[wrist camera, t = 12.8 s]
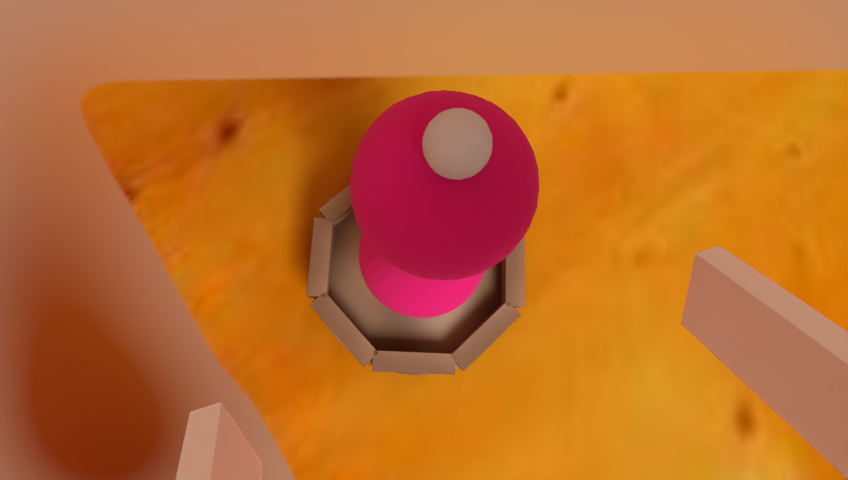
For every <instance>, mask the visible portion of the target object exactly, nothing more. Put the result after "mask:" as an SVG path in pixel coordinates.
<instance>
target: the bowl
mask: <svg viewBox="0 0 848 480" xmlns="http://www.w3.org/2000/svg"><path fill="white" fill-rule="evenodd" d="M319 211H320V213H321V214H322V216H323V217H324V218H317V217H314V225H313V235H312V245H311V255H310V266H309V276H308V286H307V296H308V297H310V298H315V300H314V301H313V302H312V303H311V304H310V306H311V307H312V308H313V309H314V311H315V312H316V313H317V314H318V315H319V316H320V317H321V319H322V320H323V321H324V322H325V323H326V325H327V327H328V328H329V329H330V331H331V332H332V333H333V335H334V336H335V337H336V338H337V339H338V340H339V341H340V342H341V343H342V344H343V345H344V346H345V348H347V349H348V350H349V351H350V352H351V353H352V354H353V356H354V357H355V358H356V359H357V360H358V361H359V362H360V364H361V365H362V366H363V367H364V366H365V365H366V364H367V363H369V364H371V365H372V371H381V372H395V373H401V374H410V375H422V374H455V368H456V367H459V368H460V369H461V370H463V371H464V370H465V369H466V368H467V367H468V366H469V365H470V364H471V363H472V362H473V361H474V360H475V359H476V358H477V357H478V356H479V355H480V354H482V353H483V352H484V351H485V350H486V349H487V348H488V347H489V346H490V345H491V344H492V343H493V342H494V341H495V340H496V339H497V338H498V337H499V336H500V335H501V334H502V333H503V332H504V331H505V330H506V329H507V328H508V327H509V326H510V325H511V324H512V323H513V322H514V321H515V320H516V319H517V318H518V317H519V316H520V315H521V314H520V313H519V312H518V311H517V310H516V309H515V307H517V308H520V307H524V306H525V292H524V237H523V238H522V240H521V241H520V242H519V244H518V245H517V246H516V248H515V249H514V250H513V251H512V252H511V253H510V254H509V255H508V256H507V257H506V258H505V259H504V260H502V261H501V262H499V263H498V264H496V265H494V266H493V267H491V268H489V269H488V270H486V271H484V274H483V276H482V279H481V281H480V283H479V285H478V286H477V288H476V290H475V291H474V292H473V294H472V295H471V296H470V297H469V298H468V299H467V300H466V301H465V302H464V303H463V304H462V305H460V306H459V307H458V308H456V309H454V310H452V311H451V312H449V313H446V314H443V315H440V316H436V317H431V318H415V317H408V316H405V315H402V314H399V313H396V312H394V311H393V310H391V309H389V308H387V307H386V306H385V305H383V304H382V303H381V302H380V301H379V300H378V299H377V298H376V297H375V296H374V295H373V294H372V293H371V291H370V290H369V289H368V287H367V285H366V283H365V281H364V279H363V276H362V273H361V270H360V264H359V243H360V239H361V235H362V231H361V229H360V228H359V226H358V224H357V222H356V218H355V214H354V210H353V206H352V203H351V194H350V184H349V185H348V186H347V187H345V188H344V189H343V190H342V191H341V192H339V193H338V194H337V195H336V196H334V197H333V198H332V199H331V200H330V201H328V202H327V203H326V204H325V205H323V206H322V207H321V208H320V209H319Z"/></svg>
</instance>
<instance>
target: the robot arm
mask: <svg viewBox="0 0 848 480" xmlns="http://www.w3.org/2000/svg"><path fill="white" fill-rule="evenodd" d="M681 324H682V325H683V326H684V327H685V328H686V329H687V330H688V331H689V332H691V333H692V334H693V335H694V336H695V337H696V338H697V339H698V340H699V341H700V342H701V343H702V344H703V345H704V346H706V347H707V348H708V349H709V350H710V351H711V352H712V353H713V354H714V355H715V356H716V357H717V358H718V359H719V360H720V361H722V362H723V363H724V364H725V365H726V366H727V367H728V368H729V369H730V370H731V371H732V372H733V373H734V374H735V375H737V376H738V377H739V378H740V379H741V380H742V381H743V382H744V383H745V384H746V385H747V386H748V387H749V388H750V389H751V390H753V391H754V392H755V393H756V394H757V395H758V396H759V397H760V398H761V399H762V400H763V401H764V402H765V403H766V404H768V405H769V406H770V407H771V408H772V409H773V410H774V411H775V412H776V413H777V414H778V415H779V416H780V417H781V418H783V419H784V420H785V421H786V422H787V423H788V424H789V425H790V426H791V427H792V428H793V429H794V430H795V431H796V432H797V433H799V434H800V435H801V436H802V437H803V438H804V439H805V440H806V441H807V442H808V443H809V444H810V445H811V446H812V447H814V448H815V449H816V450H817V451H818V452H819V453H820V454H821V455H822V456H823V457H824V458H825V459H826V460H827V461H828V462H830V463H831V464H832V465H833V466H834V467H835V468H836V469H837V470H838V471H839V472H840V473H841V474H842V475H843V476H845V477H846V478H847V479H848V331H846V330H845V329H843V328H842V327H840V326H839V325H837V324H836V323H834V322H833V321H831V320H830V319H828V318H827V317H825V316H824V315H822V314H821V313H819V312H818V311H816V310H815V309H813V308H812V307H810V306H809V305H807V304H806V303H804V302H803V301H802V300H800V299H799V298H797V297H796V296H794V295H793V294H791V293H790V292H788V291H787V290H785V289H784V288H782V287H781V286H779V285H778V284H776V283H775V282H773V281H772V280H770V279H769V278H767V277H766V276H764V275H763V274H761V273H760V272H758V271H757V270H755V269H754V268H752V267H751V266H749V265H748V264H746V263H745V262H743V261H742V260H740V259H739V258H737V257H736V256H734V255H733V254H731V253H730V252H729V251H727V250H726V249H724V248H723V247H721V246H717V247H714V248H711V249H708V250H705V251H701V252H698V253H696V254H695V259H694V264H693V269H692V274H691V279H690V283H689V288H688V293H687V298H686V303H685V308H684V313H683V318H682V323H681ZM176 480H262V461H261V460H260V458H259V457H258V455H257V454H256V453H255V451H254V449H253V448H252V446H251V445H250V443H249V442H248V440H247V439H246V438H245V436H244V434H243V433H242V432H241V430H240V429H239V427H238V426H237V424H236V423H235V421H234V420H233V418H232V417H231V415H230V414H229V412H228V411H227V409H226V408H225V406H224V405H223V403H222V402H220V403H217V404H213V405H210V406H207V407H204V408H201V409H197V410H194V411H191V412H190V414H189V420H188V424H187V429H186V434H185V438H184V443H183V448H182V453H181V457H180V462H179V467H178V471H177V476H176Z"/></svg>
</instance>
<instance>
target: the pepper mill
mask: <svg viewBox="0 0 848 480" xmlns="http://www.w3.org/2000/svg"><path fill="white" fill-rule="evenodd" d="M538 193H539V177H538V166H537V163H536V159H535V155H534V152H533V150H532V148H531V146H530V144H529V142H528V139H527V137H526V136H525V134H524V133H523V131H522V130H521V129H520V127H519V126H518V124H517V123H516V121H515V120H514V119H513V118H511V117H510V116H509V115H508V114H507V113H506V112H505V111H503V110H502V109H501V108H500V107H498V106H497V105H495V104H493V103H492V102H490V101H487V100H485V99H483V98H480V97H478V96H475V95H471V94H467V93H463V92H456V91H446V90H443V91H429V92H425V93H422V94H418V95H415V96H412V97H408V98H406V99H404V100H402V101H400V102H398V103H396V104H394V105H392V106H391V107H390V108H389V109H387V110H386V111H385V112H384V113H382V114H381V115H380V116H379V117H378V118H377V119H376V120H375V121H374V123H373V124H372V125H371V127H370V128H369V129H368V130H367V132H366V133H365V134H364V136H363V138H362V140H361V142H360V144H359V146H358V149H357V151H356V153H355V157H354V160H353V163H352V169H351V177H350V194H351V203H352V206H353V210H354V214H355V218H356V222H357V224H358V226H359V228H360V229H361V231H362V235H361V239H360V243H359V264H360V270H361V273H362V276H363V279H364V281H365V283H366V285H367V287H368V289H369V290H370V291H371V293H372V294H373V295H374V296H375V297H376V298H377V299H378V300H379V301H380V302H381V303H382V304H383V305H385V306H386V307H387V308H389V309H391V310H393V311H394V312H396V313H399V314H402V315H405V316H408V317H415V318H431V317H436V316H440V315H443V314H446V313H449V312H451V311H452V310H454V309H456V308H458V307H459V306H460V305H462V304H463V303H464V302H465V301H466V300H467V299H468V298H469V297H470V296H471V295H472V294H473V292H474V291H475V290H476V288H477V286H478V285H479V283H480V281H481V279H482V276H483V274H484V271H486V270H488V269H489V268H491V267H493V266H494V265H496V264H498V263H499V262H501V261H502V260H504V259H505V258H506V257H507V256H508V255H509V254H510V253H511V252H512V251H513V250H514V249H515V248H516V246H517V245H518V244H519V242H520V241H521V240H522V238H523V237H524V235H525V233H526V232H527V230H528V228H529V227H530V224H531V222H532V219H533V216H534V214H535V211H536V208H537V201H538Z"/></svg>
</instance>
